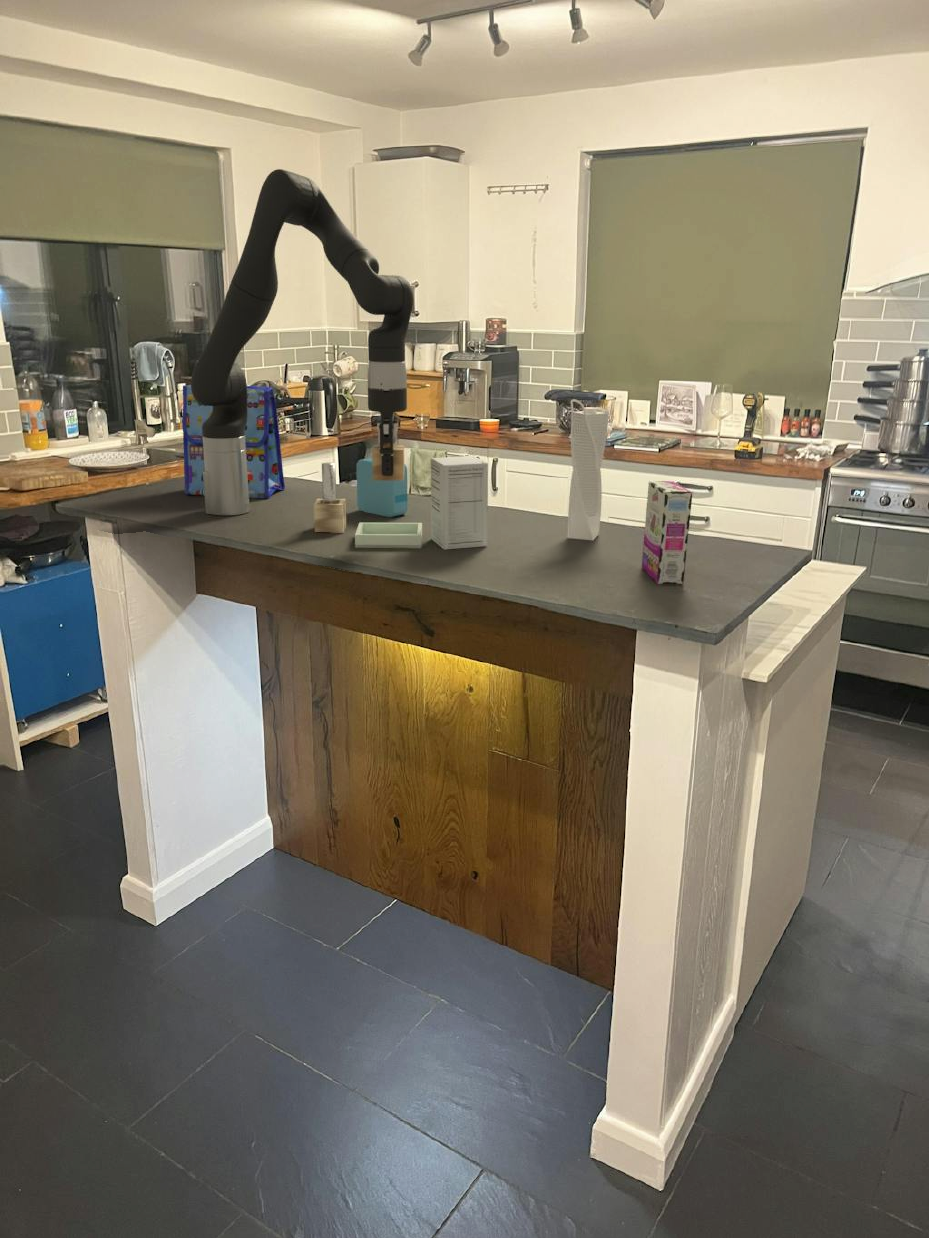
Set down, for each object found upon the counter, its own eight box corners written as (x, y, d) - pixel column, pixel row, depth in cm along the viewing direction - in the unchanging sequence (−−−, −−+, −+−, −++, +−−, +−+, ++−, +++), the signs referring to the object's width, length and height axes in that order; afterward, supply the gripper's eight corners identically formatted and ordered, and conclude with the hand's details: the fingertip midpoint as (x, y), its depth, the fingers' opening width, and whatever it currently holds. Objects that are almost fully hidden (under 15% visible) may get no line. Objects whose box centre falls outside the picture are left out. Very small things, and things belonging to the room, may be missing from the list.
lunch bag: (184, 496, 231) (173, 376, 222) (206, 486, 244) (197, 372, 234) (269, 499, 228) (262, 378, 219) (286, 489, 241) (280, 373, 232)
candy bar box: (685, 585, 162) (694, 492, 157) (657, 585, 162) (664, 492, 157) (667, 568, 173) (674, 480, 168) (640, 568, 173) (647, 480, 167)
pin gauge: (323, 530, 198) (320, 464, 193) (324, 527, 200) (322, 462, 196) (336, 531, 198) (334, 464, 193) (338, 528, 200) (335, 462, 196)
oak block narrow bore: (372, 480, 183) (372, 449, 181) (374, 475, 188) (374, 445, 186) (403, 480, 183) (403, 450, 181) (404, 475, 189) (404, 445, 187)
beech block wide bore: (314, 532, 196) (313, 504, 194) (318, 526, 202) (317, 498, 200) (343, 533, 196) (342, 504, 194) (346, 526, 202) (345, 499, 200)
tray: (355, 547, 184) (354, 535, 183) (359, 534, 195) (359, 522, 194) (421, 548, 185) (421, 535, 184) (422, 535, 195) (422, 522, 194)
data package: (408, 515, 213) (407, 462, 209) (394, 518, 210) (393, 465, 206) (370, 507, 220) (369, 456, 217) (356, 510, 217) (355, 459, 213)
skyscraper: (559, 538, 194) (565, 400, 185) (568, 530, 200) (574, 397, 191) (597, 542, 191) (605, 402, 182) (604, 534, 198) (613, 399, 189)
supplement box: (473, 536, 195) (474, 455, 189) (488, 546, 186) (490, 462, 181) (429, 539, 192) (429, 457, 186) (442, 550, 184) (443, 464, 178)
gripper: (370, 382, 187) (371, 466, 192) (364, 388, 173) (367, 479, 178) (407, 382, 187) (408, 466, 192) (405, 389, 173) (406, 479, 179)
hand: (388, 472), depth 185 cm, fingers closed on oak block narrow bore, 6 cm apart
